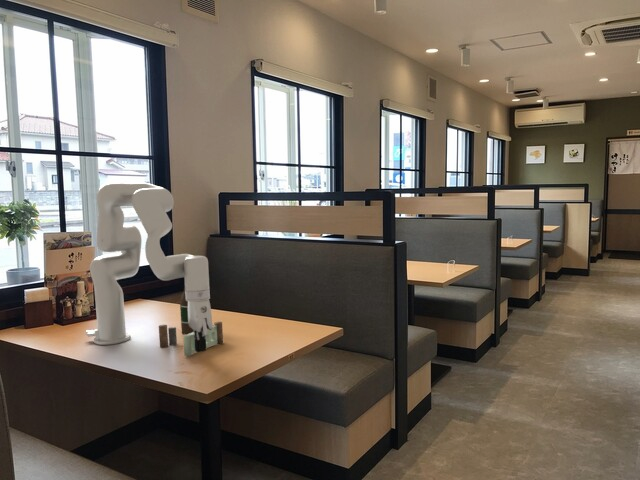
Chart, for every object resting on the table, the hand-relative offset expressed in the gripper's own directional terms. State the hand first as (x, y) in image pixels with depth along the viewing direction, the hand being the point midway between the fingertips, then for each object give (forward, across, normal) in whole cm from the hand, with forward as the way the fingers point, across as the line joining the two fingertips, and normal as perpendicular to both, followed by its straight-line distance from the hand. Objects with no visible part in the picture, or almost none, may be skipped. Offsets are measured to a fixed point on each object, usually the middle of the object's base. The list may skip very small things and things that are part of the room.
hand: (200, 350), depth 162 cm
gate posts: (+2, +17, -3) cm, 17 cm away
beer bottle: (+3, +32, -8) cm, 33 cm away
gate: (+2, +7, -3) cm, 8 cm away
